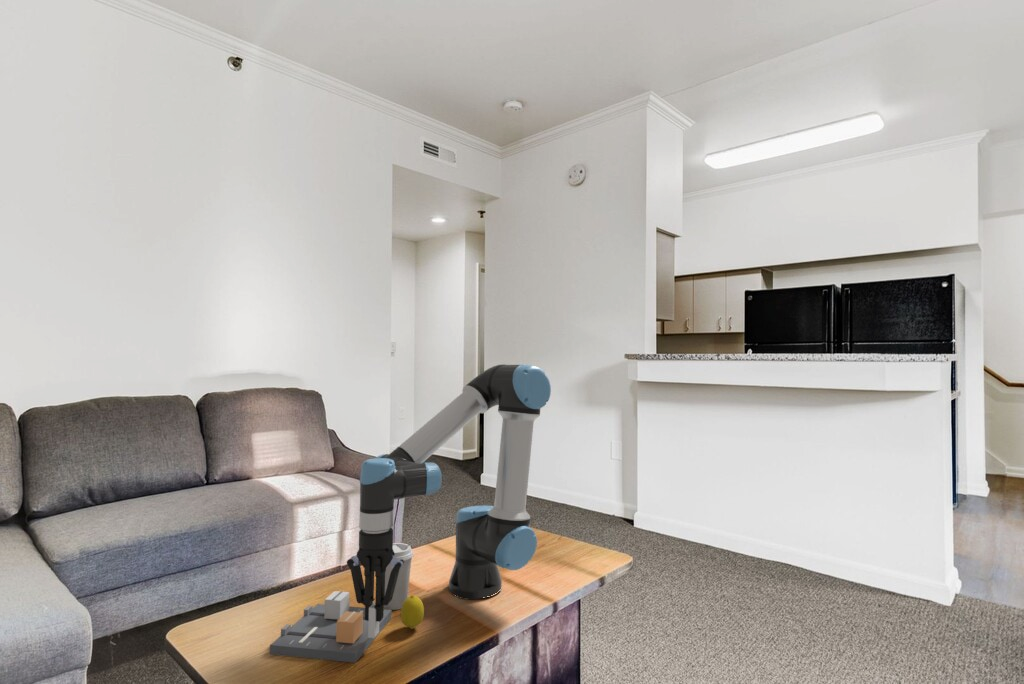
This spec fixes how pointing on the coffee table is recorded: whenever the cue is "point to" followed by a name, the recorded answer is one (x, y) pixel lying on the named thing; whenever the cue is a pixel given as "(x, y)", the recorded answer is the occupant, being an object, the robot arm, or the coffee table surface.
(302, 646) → the console
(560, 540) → the coffee table surface
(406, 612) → the lemon
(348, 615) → the fader orange
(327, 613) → the fader grey
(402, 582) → the coffee cup
